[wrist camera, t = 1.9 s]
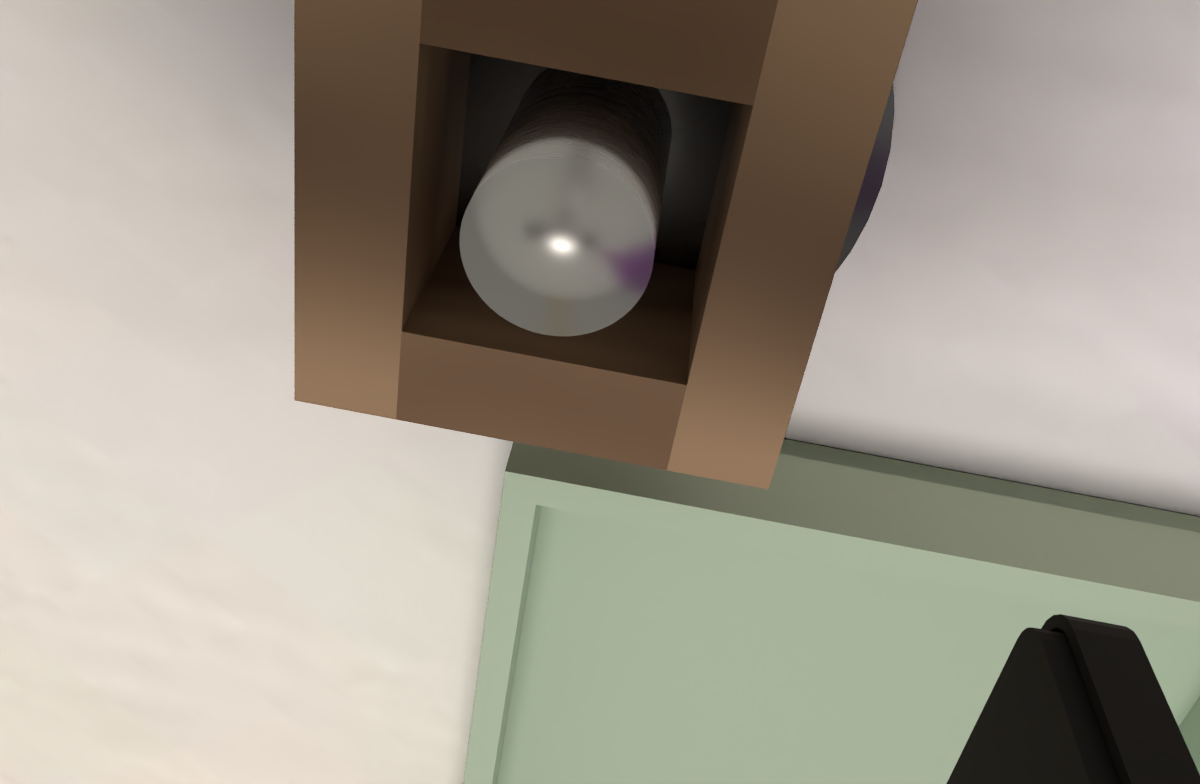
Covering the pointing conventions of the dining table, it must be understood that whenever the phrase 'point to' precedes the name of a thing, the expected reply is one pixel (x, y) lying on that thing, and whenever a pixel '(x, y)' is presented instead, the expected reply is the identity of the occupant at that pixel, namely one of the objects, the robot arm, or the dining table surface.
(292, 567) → the dining table surface
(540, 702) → the green rectangular frame
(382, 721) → the dining table surface
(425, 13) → the wooden square frame
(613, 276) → the peg on round base
